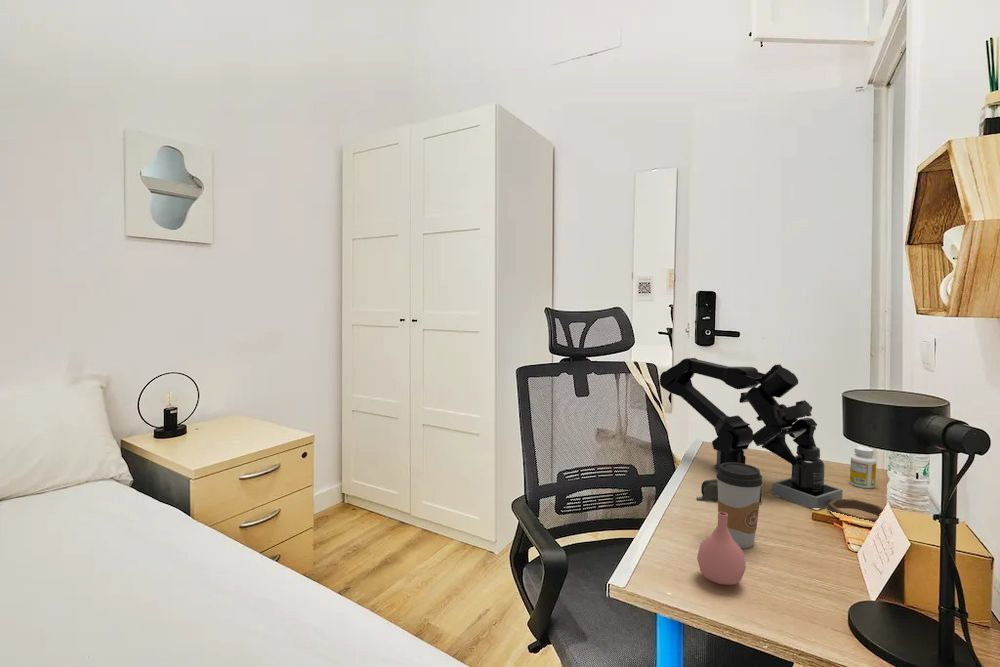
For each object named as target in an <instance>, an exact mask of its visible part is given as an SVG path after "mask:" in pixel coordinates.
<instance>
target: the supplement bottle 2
mask: <svg viewBox="0 0 1000 667" xmlns="http://www.w3.org/2000/svg"><path fill="white" fill-rule="evenodd" d="M874 450H875V449H873V448H870V447H866V446H855V447H854V450H853V452H854V453H855V454H852V455H851V457H850V468H849V469H850V471H849V483H850V485H853V486H854V487H858V488H862V489H863V488H864V489H873V488H875V487H876V473H877V472H876V471H877V459H876V458H875V457H873V456H874Z"/></svg>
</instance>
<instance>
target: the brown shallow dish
mask: <svg viewBox="0 0 1000 667" xmlns="http://www.w3.org/2000/svg"><path fill="white" fill-rule="evenodd" d="M839 508H843V509H856V510H860V511H864V512H867V513H872V514H874V515H876V516H878V517H879V514H880V513H881V512H882V511H883V509H884V508H882V507H881V506H879V505H877V504H873V503H870V502H866V501H862V500H859V499H853V498H842V499H834V500H832V501H831V502H829V503H828V507H827V511H828V510H830V511H832V512H836V513H840V514H844V515H847V516H852V517H856V518H859V519H864V520H869V521H872V522H875V521H876V520H877V519H878V518H877V517H862V516H858V515H855V514H852V513H849V512H844V511H842V510H840V509H839Z"/></svg>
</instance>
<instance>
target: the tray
mask: <svg viewBox="0 0 1000 667" xmlns="http://www.w3.org/2000/svg"><path fill="white" fill-rule="evenodd" d="M843 491H844V490H843V489H841V488H838V487H835V486H831V485H829V484H825V483H824V494H823V495H819V496H816V497H815V496H812V495H810V494H807V493H804V492H801V491H798V490H795V489H792V488H791V477H789V478H785V479H782V480H778V481H774V482H772V493H771V494H772V495H773V496H776V497H778V498H781V499H784V500H786V501H789V502H792V503H794V504H797V505H800V506H802V507H805V508H808V509H811V510H813V508H823V509H825V508H828V503H829V502H831V501H832V500H834V499H843V494H844V493H843Z"/></svg>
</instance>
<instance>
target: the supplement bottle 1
mask: <svg viewBox="0 0 1000 667" xmlns="http://www.w3.org/2000/svg"><path fill="white" fill-rule="evenodd" d="M820 449H821V448H819V447H817V446H816V447H815V446H810V445H798V444H797V446H796V452H795V453H796V454H797V455H794V457H795V458H796V460H797V462H798V464H797V465H792V464H791V471H790V472H791V477H790V478H791V488H792V489H795V490H798V491H801V492H804V493H807V494H810V495H812V496H815V497H816V496H819V495H823V494H824V484H825V462H824V461H823V460H822V458H821V450H820ZM819 457H820V458H819Z"/></svg>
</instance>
